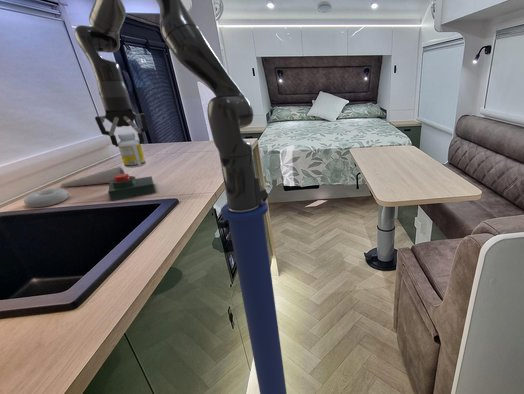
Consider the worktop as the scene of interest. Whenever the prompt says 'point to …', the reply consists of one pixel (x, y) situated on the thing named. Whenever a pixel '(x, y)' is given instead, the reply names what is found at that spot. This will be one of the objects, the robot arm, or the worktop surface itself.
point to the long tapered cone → (95, 178)
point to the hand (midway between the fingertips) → (129, 144)
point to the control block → (131, 188)
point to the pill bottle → (131, 150)
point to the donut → (46, 197)
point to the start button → (121, 177)
